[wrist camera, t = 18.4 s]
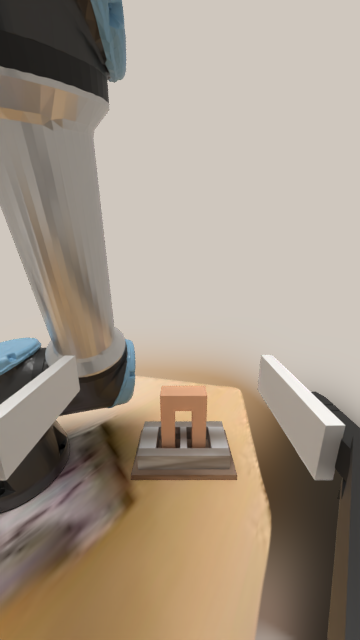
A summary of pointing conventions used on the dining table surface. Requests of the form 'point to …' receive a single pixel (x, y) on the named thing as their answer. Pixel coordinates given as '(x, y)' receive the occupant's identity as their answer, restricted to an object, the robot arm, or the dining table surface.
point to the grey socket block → (183, 455)
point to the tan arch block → (183, 401)
